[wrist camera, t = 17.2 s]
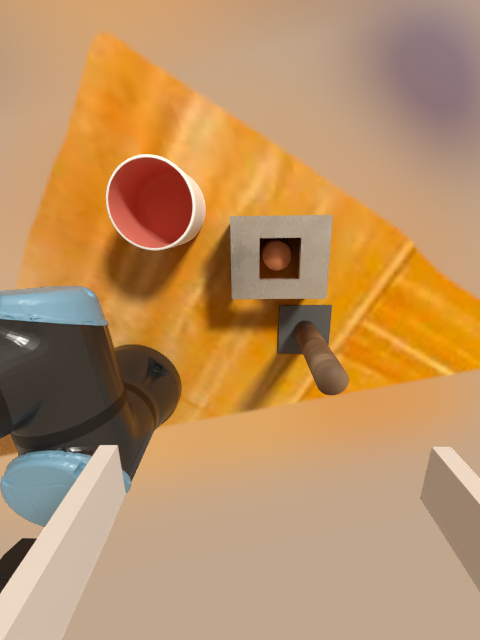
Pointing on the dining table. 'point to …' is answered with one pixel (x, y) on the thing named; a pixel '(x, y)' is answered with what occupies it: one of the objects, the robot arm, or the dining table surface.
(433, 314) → the dining table surface
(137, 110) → the dining table surface
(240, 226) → the grey box with hole
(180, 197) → the cup
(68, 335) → the robot arm
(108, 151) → the dining table surface
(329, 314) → the coaster
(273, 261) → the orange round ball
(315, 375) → the rod
